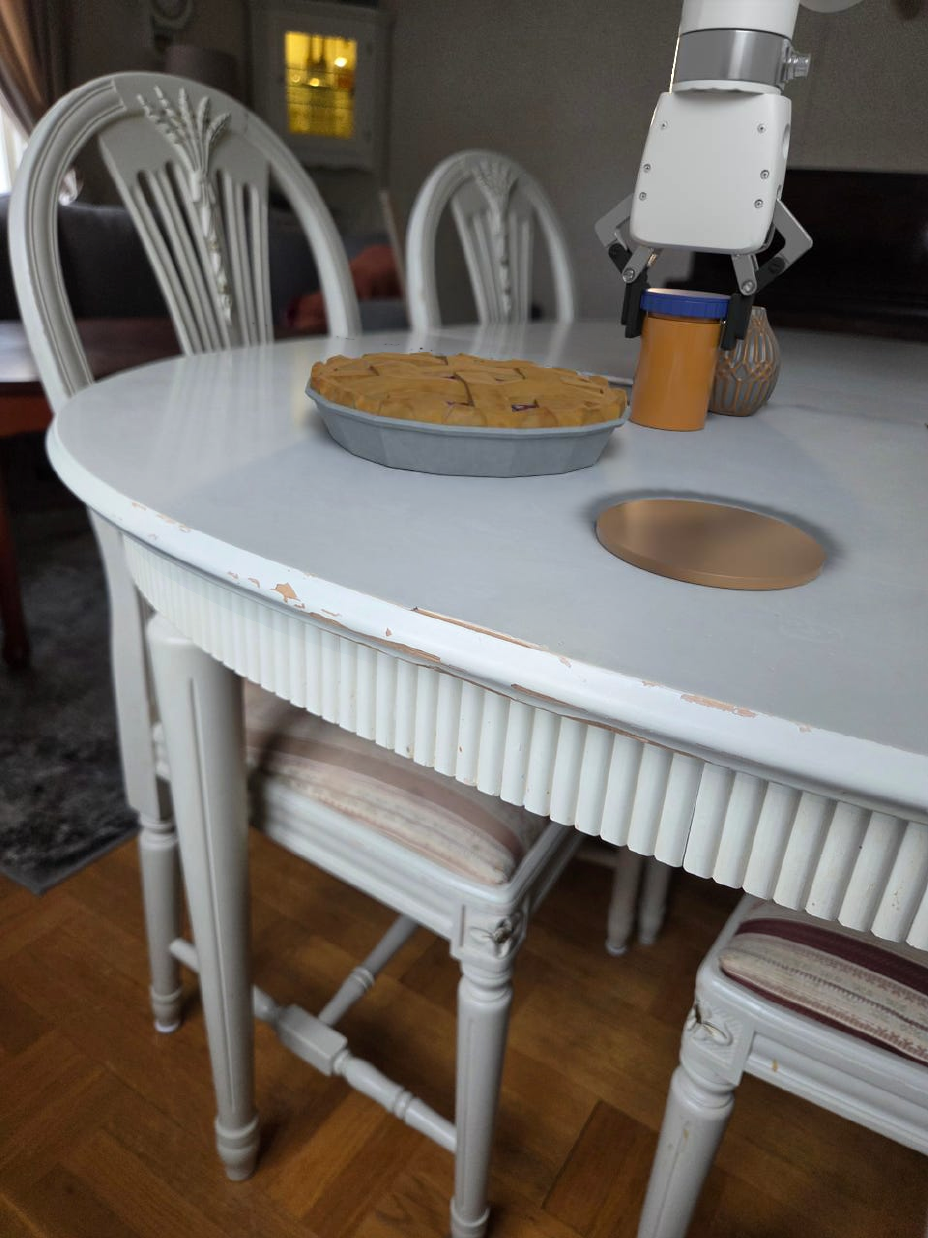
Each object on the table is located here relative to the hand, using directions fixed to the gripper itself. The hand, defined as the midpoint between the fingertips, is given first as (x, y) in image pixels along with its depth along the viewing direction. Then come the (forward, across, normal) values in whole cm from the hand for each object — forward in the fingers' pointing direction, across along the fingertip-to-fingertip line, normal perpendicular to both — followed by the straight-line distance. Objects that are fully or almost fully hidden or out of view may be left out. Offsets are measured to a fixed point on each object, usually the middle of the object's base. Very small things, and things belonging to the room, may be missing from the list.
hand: (680, 340), depth 65 cm
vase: (+7, -4, -9) cm, 12 cm away
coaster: (+6, -9, +28) cm, 30 cm away
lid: (-3, 0, 0) cm, 3 cm away
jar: (+6, 0, 0) cm, 6 cm away
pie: (+7, +10, +17) cm, 21 cm away
